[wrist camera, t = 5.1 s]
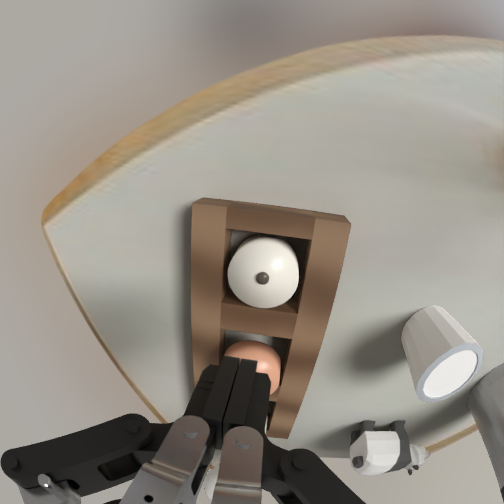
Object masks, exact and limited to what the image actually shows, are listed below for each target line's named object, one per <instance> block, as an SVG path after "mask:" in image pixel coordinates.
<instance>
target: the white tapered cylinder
mask: <svg viewBox="0 0 504 504" xmlns="http://www.w3.org/2000/svg"><path fill="white" fill-rule="evenodd" d="M401 342H402V345H403V348H404V351H405V355H406V358H407V361H408V365H409V368H410V372H411V375H412V379H413V383H414V387H415V391H416V393H417V396H418V398H419V399H420V400H422V401H425V402H438V401H440V400H443V399H446V398H449V397H451V396H452V395H454V394H455V393H457V392H458V391H460V390H461V389H463V388H464V387H465V386H466V385H467V384H468V383H469V382H470V381H471V380H472V379H473V377H474V376H475V375H476V373H477V372H478V370H479V369H480V366H481V363H482V360H483V349H482V347H481V346H480V345H479V344H478V343H477V342H476V341H475V340H474V339H473V338H472V337H471V336H470V335H469V334H468V333H467V332H466V331H465V329H464V328H463V327H462V326H461V325H460V324H459V323H458V322H457V321H456V320H455V319H454V318H453V317H452V316H451V315H450V314H448V313H447V312H446V311H445V310H444V309H443V308H442V307H440V306H433V305H432V306H429V307H425V308H422V309H421V310H419V311H418V312H416V313H415V314H413V315H412V317H411V318H410V319H409V320H408V321H407V322H406V324H405V326H404V328H403V330H402V335H401Z"/></svg>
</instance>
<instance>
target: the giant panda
mask: <svg viewBox="0 0 504 504" xmlns="http://www.w3.org/2000/svg"><path fill="white" fill-rule="evenodd" d="M404 424H405V421H394V422H393V423H392V424H391V431H377V432H376V431H375V430H374V429H373V426H374V425H375V421H363V422H361V424H360V431H354V432H353V433H352V434H351V444H350V460H351V465H352V467H353V469H354V470H355V471H357V472H358V473H360V474H362V475H378V474H382V473H386V472H391V471H396V470H400V469H402V468H405V469H407V470H408V473H409V475H411V474H412V471H414V470H418V469H419V467H421V466H422V465H423V464H424V460H425V459H426V458H427V457H429V456H430V453H429V452H428V451H425V447H422V446H420V445H413V444H409V439H408V436H407V434H406V431H405V429H404Z"/></svg>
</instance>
